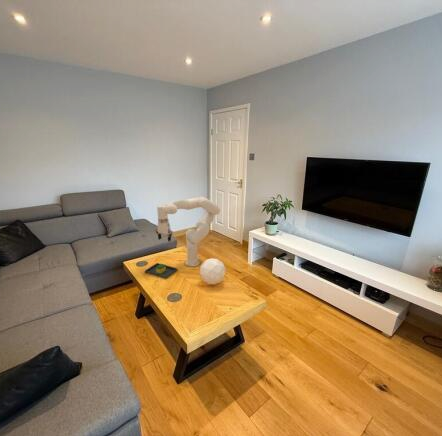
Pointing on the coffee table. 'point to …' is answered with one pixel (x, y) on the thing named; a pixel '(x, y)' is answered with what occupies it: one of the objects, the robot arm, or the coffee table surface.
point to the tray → (164, 274)
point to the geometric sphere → (212, 271)
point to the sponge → (160, 268)
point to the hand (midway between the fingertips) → (164, 240)
